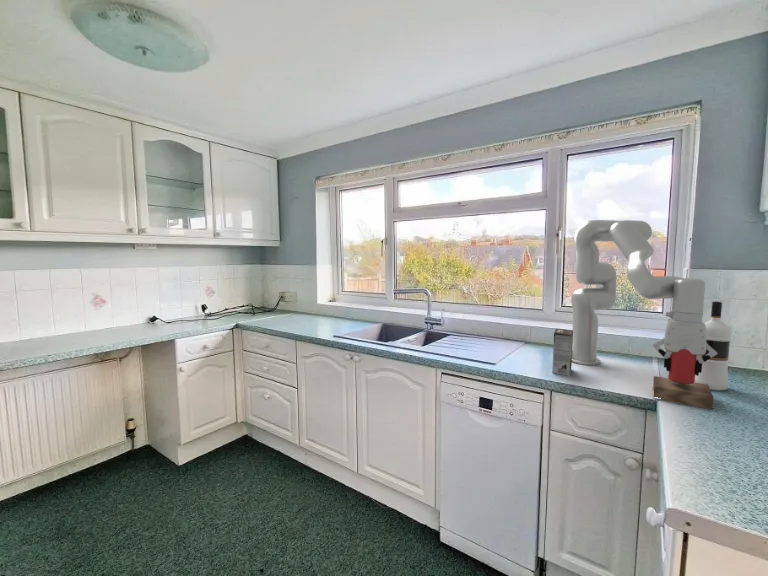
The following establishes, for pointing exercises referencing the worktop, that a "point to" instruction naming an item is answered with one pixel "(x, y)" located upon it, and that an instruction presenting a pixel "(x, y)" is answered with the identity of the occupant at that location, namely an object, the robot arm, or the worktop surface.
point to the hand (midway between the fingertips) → (681, 371)
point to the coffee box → (562, 351)
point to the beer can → (682, 367)
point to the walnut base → (683, 392)
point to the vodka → (720, 342)
